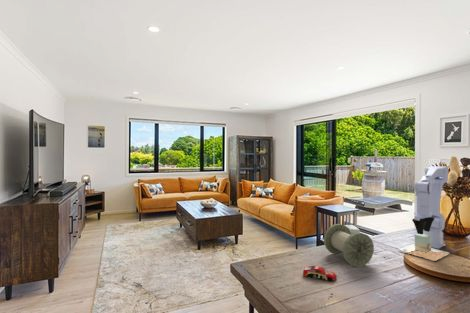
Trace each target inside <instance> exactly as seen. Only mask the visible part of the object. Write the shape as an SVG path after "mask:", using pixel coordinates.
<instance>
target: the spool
mask: <svg viewBox="0 0 470 313" xmlns="http://www.w3.org/2000/svg"><path fill="white" fill-rule="evenodd" d="M323 244H324V247H325V249H327V251H328V252H329V253H331V254H334V255H336V254H337V255H343V257H344V259H345V261H346V262H347V263H348V264H349V265H350V266H353V267H356V268H358V267H364V266H365V265H367V264H369V262H370V261H371V259H373V255H374V252H375V249H374V248H375V247H374V246H375V245H374V242H373V240H372V238H371V237H370V236H369V235H368V234H365V233H363V232H361V231H360V232H358V233H353V234H352V235H351V233H350V230H349V229H348V228H347V227H346V226H345V225H344V224H341V223H334V224H332V225H331V226H328V228H327V229H326V231H325V233H324V236H323Z"/></svg>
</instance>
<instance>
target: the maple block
mask: <svg viewBox="0 0 470 313" xmlns="http://www.w3.org/2000/svg"><path fill="white" fill-rule="evenodd" d="M414 244H415V250H416V251H421V252H425V253H427V252H429V251H431V248H432V247H431V243H430V244H428V245H423V244H419V243H415V242H414Z"/></svg>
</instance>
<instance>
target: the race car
mask: <svg viewBox="0 0 470 313" xmlns="http://www.w3.org/2000/svg"><path fill="white" fill-rule="evenodd" d="M302 275H303V276H304V277H307V278H308V277H310V278H309V279H316V278H318V279H317V280H322V279H323V281H328V282H331V281H332V282H334V281H336V280H337V277H338V276H337V274H336V273H335V272H334V271H332V270H328V269H325V268H324V267H321V266H318V265H317V266H316V265H309V266H304V268H303V271H302Z"/></svg>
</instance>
